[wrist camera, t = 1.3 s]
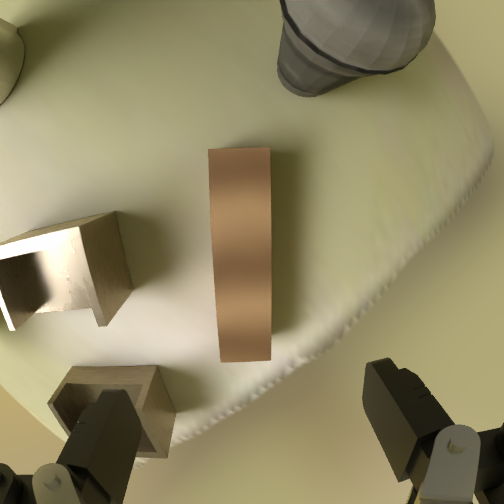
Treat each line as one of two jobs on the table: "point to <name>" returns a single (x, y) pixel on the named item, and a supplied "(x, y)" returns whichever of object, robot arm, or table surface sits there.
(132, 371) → the bracket
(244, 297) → the rail
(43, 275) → the bracket
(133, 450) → the robot arm
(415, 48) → the beverage cup
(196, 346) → the table surface
